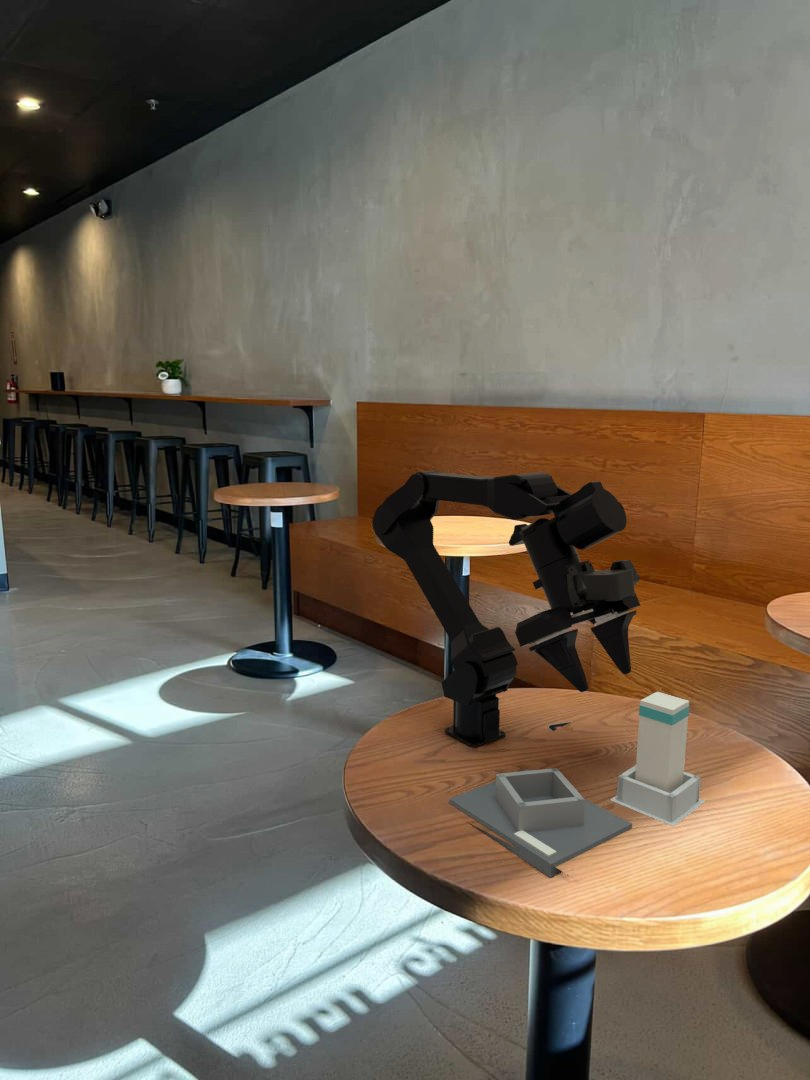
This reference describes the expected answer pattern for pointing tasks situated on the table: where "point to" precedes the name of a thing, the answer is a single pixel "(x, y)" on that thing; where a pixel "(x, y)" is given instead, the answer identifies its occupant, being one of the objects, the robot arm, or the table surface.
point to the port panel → (550, 837)
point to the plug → (662, 741)
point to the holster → (659, 797)
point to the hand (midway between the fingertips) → (606, 682)
